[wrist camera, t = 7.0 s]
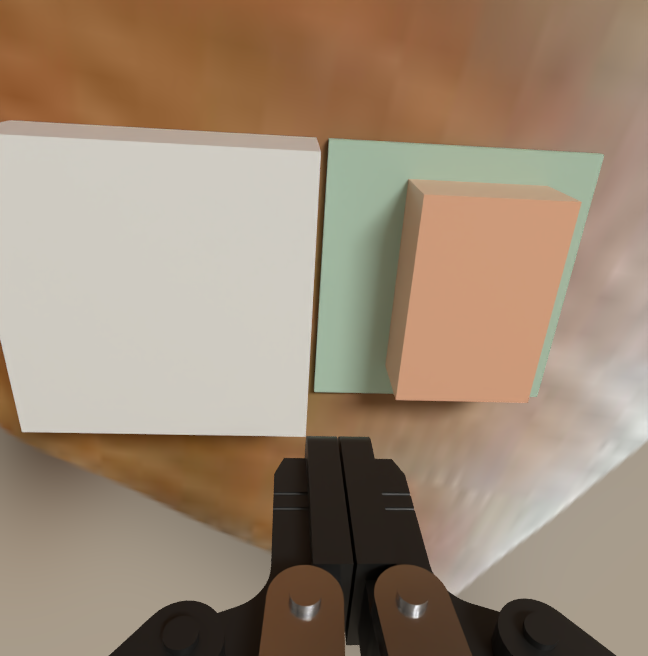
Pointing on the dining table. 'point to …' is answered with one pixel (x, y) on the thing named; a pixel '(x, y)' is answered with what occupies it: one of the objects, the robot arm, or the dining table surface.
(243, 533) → the dining table surface
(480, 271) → the terracotta tile
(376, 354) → the green mat
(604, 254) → the dining table surface
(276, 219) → the block
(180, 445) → the dining table surface
